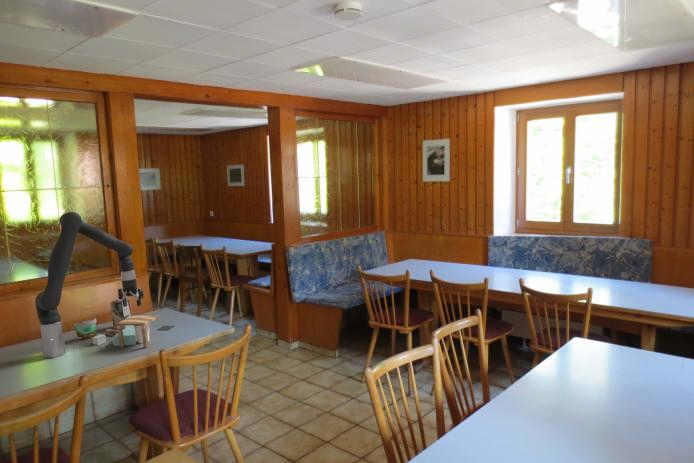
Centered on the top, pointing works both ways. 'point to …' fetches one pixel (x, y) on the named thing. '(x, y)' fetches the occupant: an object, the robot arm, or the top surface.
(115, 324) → the coffee box
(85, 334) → the food container
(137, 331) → the dixie cup
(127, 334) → the crook
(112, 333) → the walnut stick
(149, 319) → the light wood legged piece
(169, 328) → the dark grey flat slab
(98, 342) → the grey block
